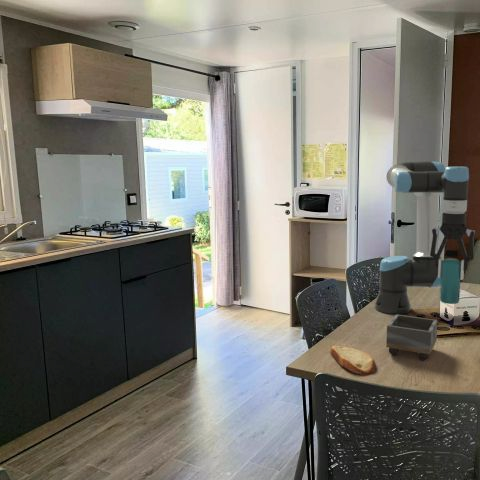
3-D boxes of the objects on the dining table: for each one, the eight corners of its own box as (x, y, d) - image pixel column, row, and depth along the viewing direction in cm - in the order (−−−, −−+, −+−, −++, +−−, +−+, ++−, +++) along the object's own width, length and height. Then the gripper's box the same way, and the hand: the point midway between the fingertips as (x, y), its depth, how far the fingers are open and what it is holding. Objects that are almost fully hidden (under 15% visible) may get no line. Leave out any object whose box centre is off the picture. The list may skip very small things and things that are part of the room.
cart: (395, 341, 182) (396, 314, 181) (436, 348, 175) (437, 319, 174) (386, 355, 170) (386, 325, 169) (429, 362, 163) (430, 332, 162)
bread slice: (332, 348, 178) (333, 338, 177) (384, 358, 169) (384, 347, 169) (314, 367, 162) (315, 356, 162) (370, 378, 154) (370, 366, 153)
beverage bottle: (461, 308, 173) (464, 251, 169) (440, 307, 174) (444, 251, 170) (456, 303, 179) (460, 248, 175) (437, 302, 180) (440, 247, 177)
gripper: (422, 212, 172) (419, 277, 176) (485, 214, 163) (480, 283, 167) (426, 209, 179) (423, 272, 183) (486, 212, 169) (482, 278, 173)
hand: (450, 277), depth 175 cm, fingers closed on beverage bottle, 6 cm apart
